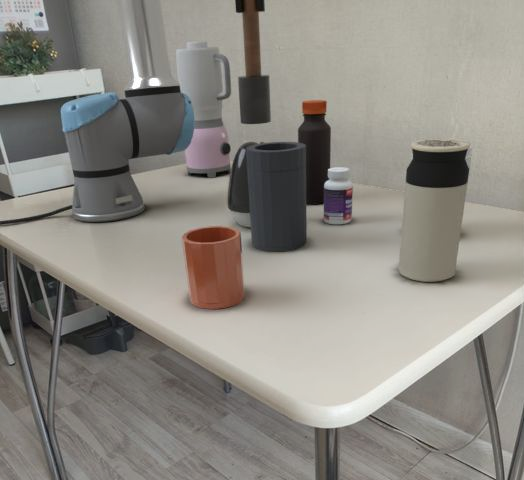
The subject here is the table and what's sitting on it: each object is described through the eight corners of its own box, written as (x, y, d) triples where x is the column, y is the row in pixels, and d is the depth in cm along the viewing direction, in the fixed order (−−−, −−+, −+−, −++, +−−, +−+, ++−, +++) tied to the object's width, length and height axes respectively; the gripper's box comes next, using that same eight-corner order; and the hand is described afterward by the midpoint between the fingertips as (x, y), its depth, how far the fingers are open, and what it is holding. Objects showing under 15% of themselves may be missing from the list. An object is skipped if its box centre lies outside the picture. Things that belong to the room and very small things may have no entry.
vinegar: (326, 205, 113) (327, 102, 104) (295, 204, 115) (293, 103, 106) (332, 197, 119) (334, 99, 109) (303, 196, 121) (302, 100, 111)
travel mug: (421, 287, 73) (435, 150, 65) (387, 269, 80) (396, 142, 71) (466, 276, 76) (486, 143, 67) (430, 259, 82) (444, 136, 74)
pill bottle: (350, 225, 100) (352, 172, 95) (322, 225, 101) (322, 172, 96) (352, 217, 105) (354, 166, 100) (325, 217, 106) (325, 166, 101)
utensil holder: (250, 252, 90) (243, 153, 82) (253, 235, 98) (248, 143, 90) (307, 251, 89) (306, 150, 81) (306, 233, 97) (305, 140, 89)
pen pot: (185, 309, 71) (177, 244, 67) (195, 287, 78) (187, 226, 73) (242, 308, 71) (237, 243, 66) (246, 286, 77) (242, 225, 73)
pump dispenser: (289, 218, 106) (287, 137, 99) (268, 233, 98) (264, 146, 91) (244, 214, 110) (238, 136, 103) (219, 229, 102) (212, 145, 95)
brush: (239, 124, 76) (225, -90, 64) (242, 120, 80) (230, -83, 68) (270, 123, 76) (262, -93, 64) (271, 119, 79) (264, -86, 67)
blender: (178, 176, 148) (161, 43, 132) (205, 167, 157) (192, 42, 141) (223, 180, 140) (211, 40, 125) (249, 171, 149) (241, 39, 133)
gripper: (163, -248, 57) (188, 13, 68) (307, -262, 55) (307, 6, 67) (178, -218, 63) (199, 16, 75) (306, -231, 62) (307, 9, 73)
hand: (250, 11), depth 71 cm, fingers closed on brush, 2 cm apart
